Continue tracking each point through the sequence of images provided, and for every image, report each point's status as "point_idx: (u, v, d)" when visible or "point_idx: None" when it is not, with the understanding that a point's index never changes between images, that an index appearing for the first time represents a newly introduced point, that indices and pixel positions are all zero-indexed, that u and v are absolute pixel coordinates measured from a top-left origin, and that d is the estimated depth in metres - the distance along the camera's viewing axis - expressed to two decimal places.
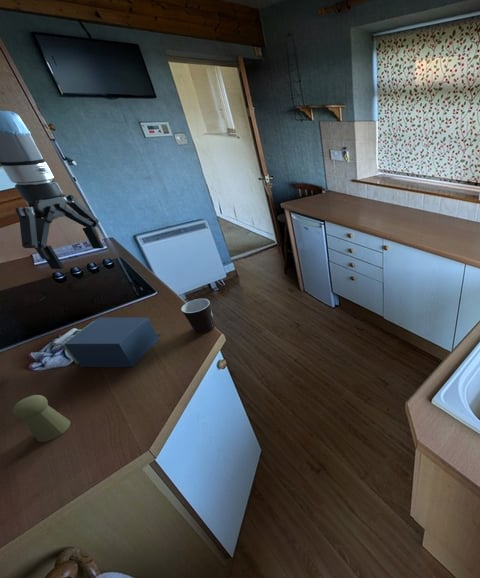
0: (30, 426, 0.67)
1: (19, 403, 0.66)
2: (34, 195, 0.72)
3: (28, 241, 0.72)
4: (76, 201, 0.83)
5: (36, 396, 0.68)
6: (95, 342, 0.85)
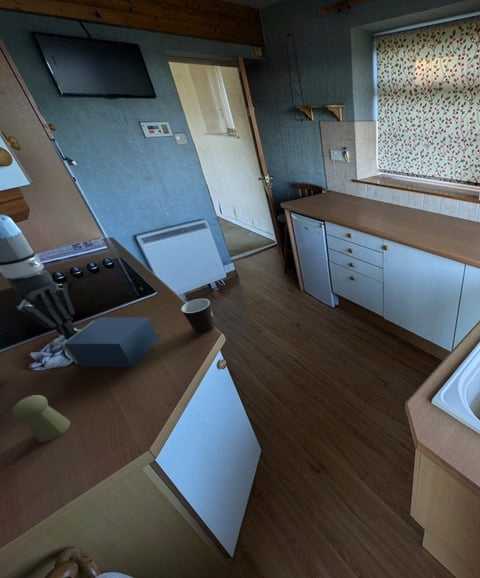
0: (30, 426, 0.67)
1: (19, 403, 0.66)
2: (25, 287, 0.78)
3: (46, 325, 0.84)
4: (65, 290, 0.88)
5: (36, 396, 0.68)
6: (95, 342, 0.85)
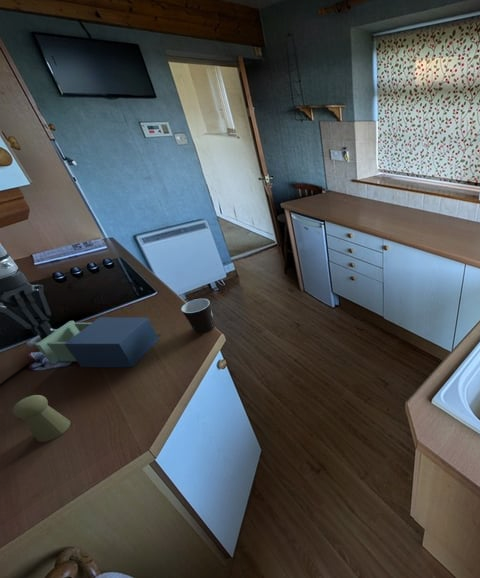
0: (30, 426, 0.67)
1: (19, 403, 0.66)
2: None
3: (21, 326, 0.84)
4: (41, 291, 0.88)
5: (36, 396, 0.68)
6: (95, 342, 0.85)
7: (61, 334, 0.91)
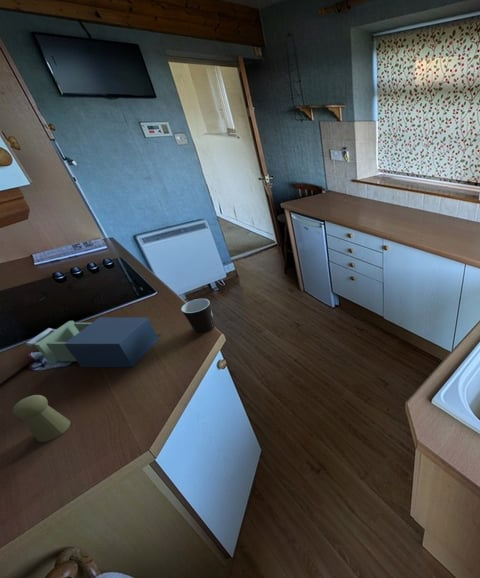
0: (30, 426, 0.67)
1: (19, 403, 0.66)
2: None
3: None
4: None
5: (36, 396, 0.68)
6: (95, 342, 0.85)
7: (60, 334, 0.91)
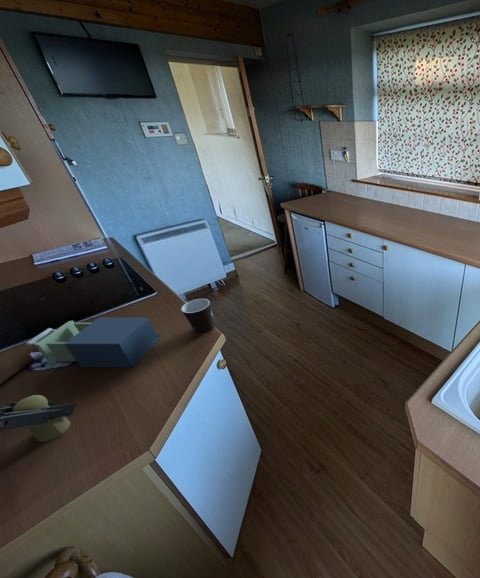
0: (30, 426, 0.67)
1: (19, 403, 0.66)
2: None
3: None
4: None
5: (36, 396, 0.68)
6: (95, 342, 0.85)
7: (60, 334, 0.91)
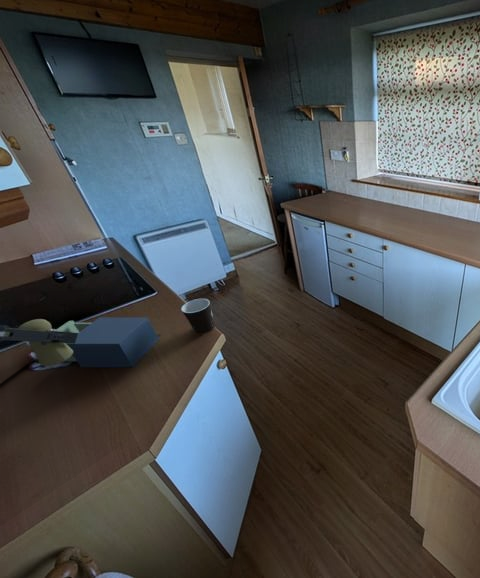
0: (34, 348, 0.69)
1: (24, 324, 0.68)
2: None
3: None
4: None
5: (40, 319, 0.70)
6: (95, 342, 0.85)
7: None
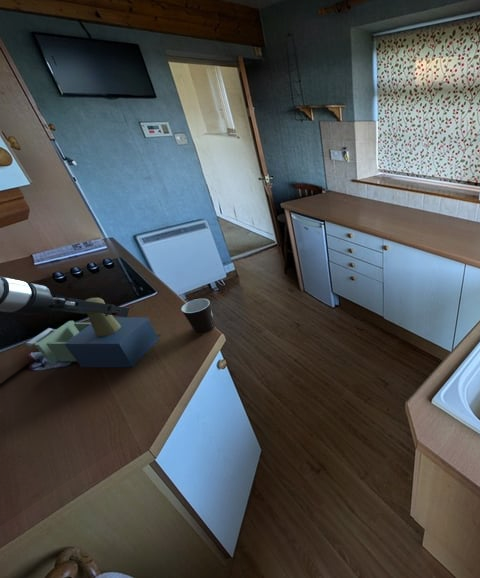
0: (92, 321, 0.85)
1: None
2: None
3: None
4: (72, 308, 0.74)
5: (97, 298, 0.86)
6: (95, 342, 0.85)
7: (60, 334, 0.91)
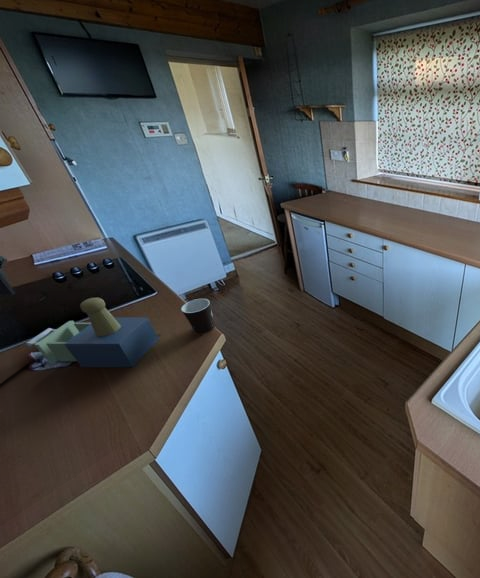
0: (92, 321, 0.85)
1: (85, 301, 0.84)
2: None
3: None
4: None
5: (97, 298, 0.86)
6: (95, 342, 0.85)
7: (60, 334, 0.91)
